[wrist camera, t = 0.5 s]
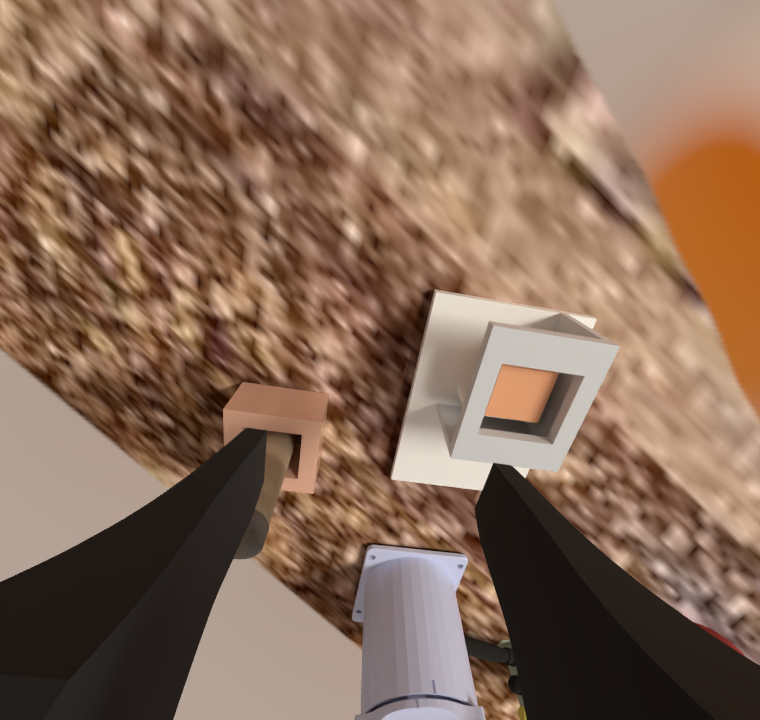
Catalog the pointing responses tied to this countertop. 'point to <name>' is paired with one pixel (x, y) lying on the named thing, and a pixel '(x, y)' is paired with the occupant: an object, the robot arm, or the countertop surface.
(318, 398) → the stylus holder
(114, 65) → the countertop surface
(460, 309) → the square socket plate
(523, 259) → the countertop surface
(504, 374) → the button
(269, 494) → the stylus
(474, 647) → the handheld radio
